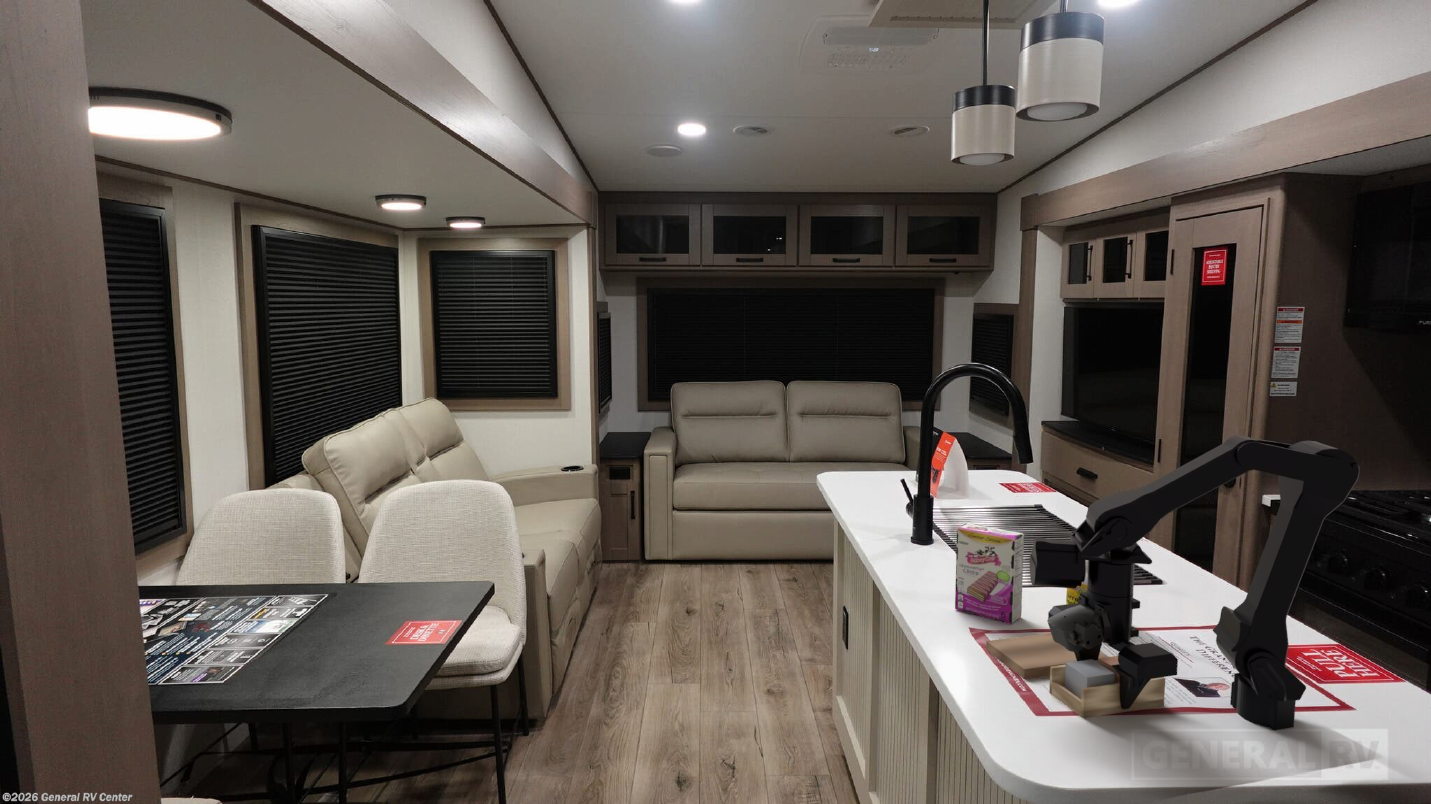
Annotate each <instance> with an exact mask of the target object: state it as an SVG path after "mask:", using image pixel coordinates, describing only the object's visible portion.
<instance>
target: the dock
mask: <svg viewBox="0 0 1431 804" xmlns="http://www.w3.org/2000/svg"><path fill="white" fill-rule="evenodd" d="M985 651H986V652H988V653H989V654H991V655H992V656H993V657H995V659H997V660H999V661H1000V662H1001V663H1003V664H1004V665H1005V666H1007V667H1008V668H1009V669H1010V670H1012V671H1013V672H1014V673H1015V674H1017V675H1018V676H1019V677H1021V678H1022V679H1024V680H1027V679H1028V680H1029V679H1034V678H1041V677H1048V676H1049V677H1050V667H1052V666H1059V665H1066V663H1069V662H1076V661H1077V659H1076V656H1075V654H1074V652H1071V651H1069V650H1067V649H1066V648H1065V647H1064V646H1062V645H1061V644H1059V643H1056V642H1055V641H1054V640H1053V637H1052V634H1051V632H1047V633H1040V634H1032V635H1025V636H1024V635H1023V636H1016V637H1009V638H1001V639H992V640H986V648H985ZM1105 657H1109V656H1108V655H1107V654H1105V653H1104V652H1102V651H1100V654H1099V658H1105ZM1099 658H1098V660H1099Z"/></svg>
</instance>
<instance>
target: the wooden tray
mask: <svg viewBox="0 0 1431 804" xmlns="http://www.w3.org/2000/svg"><path fill="white" fill-rule="evenodd" d="M1095 661H1096V662H1097V663H1099V660H1095ZM1165 687H1166V677H1161V678H1154V679H1151V680H1150V681H1149V682H1148V683H1147V684H1146V685H1145V687H1144V688H1143V690H1142V691H1141V693H1140V694H1139V695H1138V697H1137V698H1136V700H1135V701H1134V703H1133V704H1132V706H1131V707H1130V708H1129V709H1125V710H1124V709H1122V708H1121V703H1120V683H1116V684H1109V685H1102V686H1096V687H1089V688H1082V689H1081V699H1079V698H1078V697H1077V696H1075V695H1074V694H1072V693H1071V692H1070V691H1068V690H1067V689H1066V688H1065V665H1059V666H1052V667H1050V675H1049V694H1050V695H1051V696H1053V697H1054V698H1055V699H1057V700H1058V701H1059V702H1061V703H1062V704H1063V705H1065V706H1067V708H1068V709H1070V710H1071V711H1072V712H1074V713H1076V715H1078V716H1080V717H1081V718H1082V719H1087V718H1088V719H1089V718H1093V717H1101V716H1106V715H1113V714H1114V715H1115V714H1121V713H1127V712H1133V711H1134V712H1135V711H1140V710H1145V709H1152V708H1158V707H1165V692H1166V691H1165V690H1166V688H1165Z"/></svg>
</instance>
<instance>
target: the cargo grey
mask: <svg viewBox="0 0 1431 804" xmlns="http://www.w3.org/2000/svg"><path fill="white" fill-rule="evenodd" d="M1114 679H1115V673H1113V672H1112V671H1110V670H1108V669H1107V668H1105V667H1104V666H1102V665H1100V664H1099V663H1097V662H1096V661H1094V660H1093V659H1091V660H1083V661H1076V662H1069V663H1066V665H1065V688H1066V689H1067V690H1068V691H1070V692H1071V693H1072V694H1074V695H1075V696H1077V697H1078V698H1079V699H1081V689H1082V688H1089V687H1096V686H1102V685H1109V684H1114Z"/></svg>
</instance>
